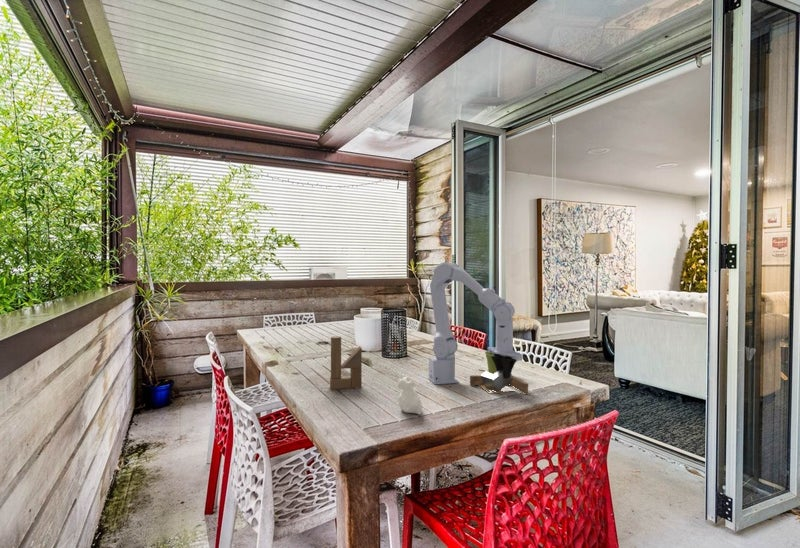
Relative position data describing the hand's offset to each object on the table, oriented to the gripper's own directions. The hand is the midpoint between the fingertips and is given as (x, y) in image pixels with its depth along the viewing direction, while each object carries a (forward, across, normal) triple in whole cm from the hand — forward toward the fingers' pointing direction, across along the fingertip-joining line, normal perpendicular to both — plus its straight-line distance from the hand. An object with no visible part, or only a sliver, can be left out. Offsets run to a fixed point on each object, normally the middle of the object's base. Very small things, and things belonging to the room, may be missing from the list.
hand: (503, 377), depth 141 cm
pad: (+5, -3, -1) cm, 5 cm away
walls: (+5, -2, -2) cm, 5 cm away
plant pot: (+5, -16, +12) cm, 21 cm away
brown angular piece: (+5, -30, -46) cm, 55 cm away
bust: (+5, +1, -39) cm, 39 cm away
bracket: (+3, -2, 0) cm, 3 cm away
